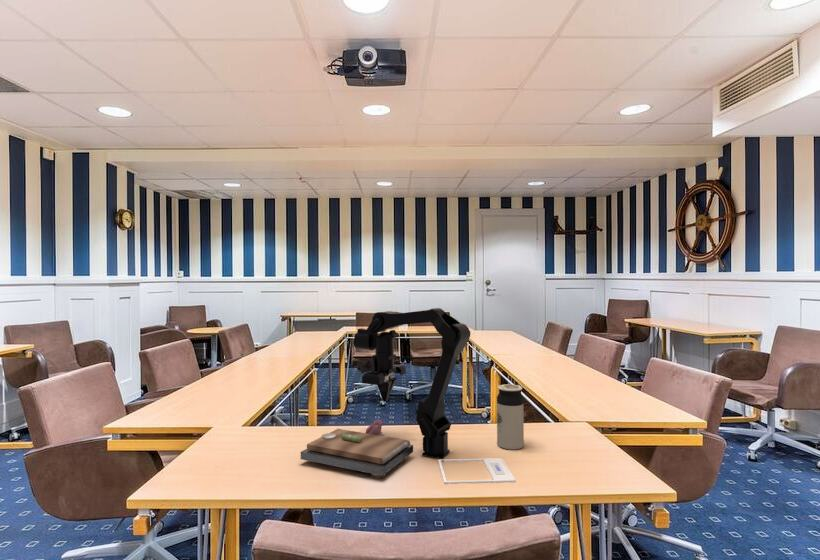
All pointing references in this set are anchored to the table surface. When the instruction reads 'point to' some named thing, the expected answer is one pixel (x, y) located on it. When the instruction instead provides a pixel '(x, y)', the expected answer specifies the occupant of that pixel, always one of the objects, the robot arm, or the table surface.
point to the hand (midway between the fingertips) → (384, 401)
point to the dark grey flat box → (357, 461)
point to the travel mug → (510, 417)
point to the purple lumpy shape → (375, 428)
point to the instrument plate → (359, 445)
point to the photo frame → (493, 465)
